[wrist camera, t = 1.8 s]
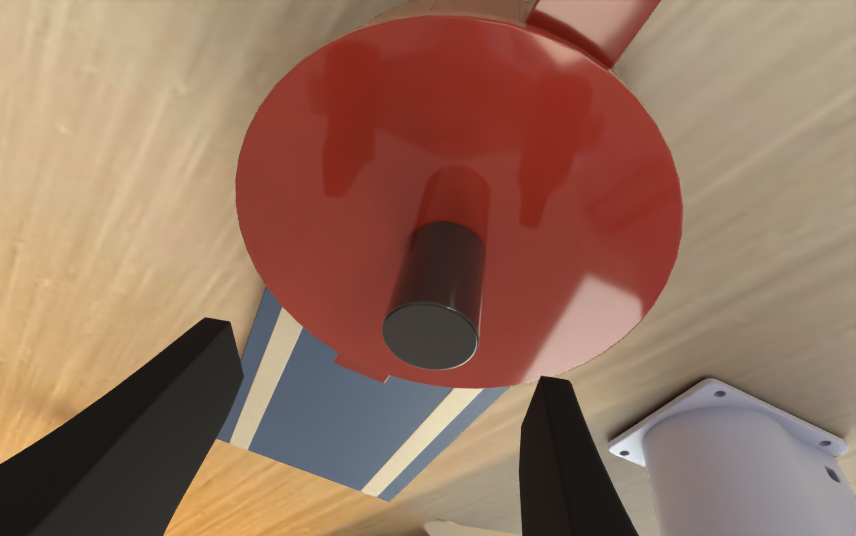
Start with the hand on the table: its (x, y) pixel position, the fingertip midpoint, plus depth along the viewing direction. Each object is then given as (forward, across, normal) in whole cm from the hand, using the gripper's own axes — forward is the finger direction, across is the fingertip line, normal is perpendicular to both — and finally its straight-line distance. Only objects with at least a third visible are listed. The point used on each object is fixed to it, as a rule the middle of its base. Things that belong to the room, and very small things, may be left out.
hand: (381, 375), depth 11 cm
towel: (+10, +4, +17) cm, 21 cm away
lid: (+5, -1, 0) cm, 5 cm away
